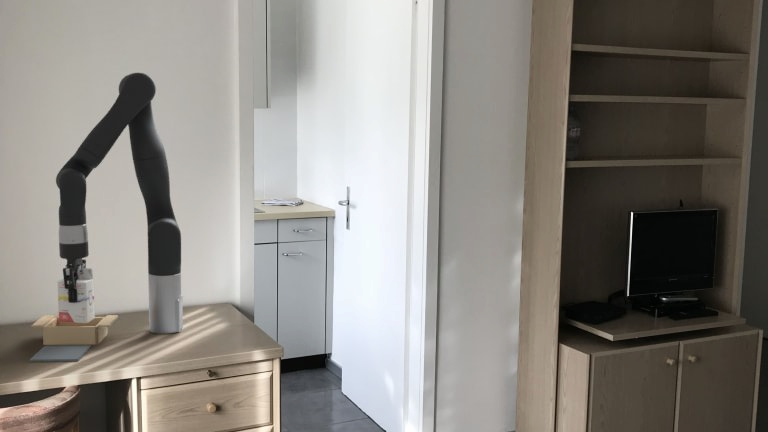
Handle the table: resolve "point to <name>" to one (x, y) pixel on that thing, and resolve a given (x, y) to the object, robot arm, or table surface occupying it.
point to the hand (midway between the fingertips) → (76, 299)
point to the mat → (60, 353)
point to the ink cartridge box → (85, 300)
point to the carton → (74, 330)
